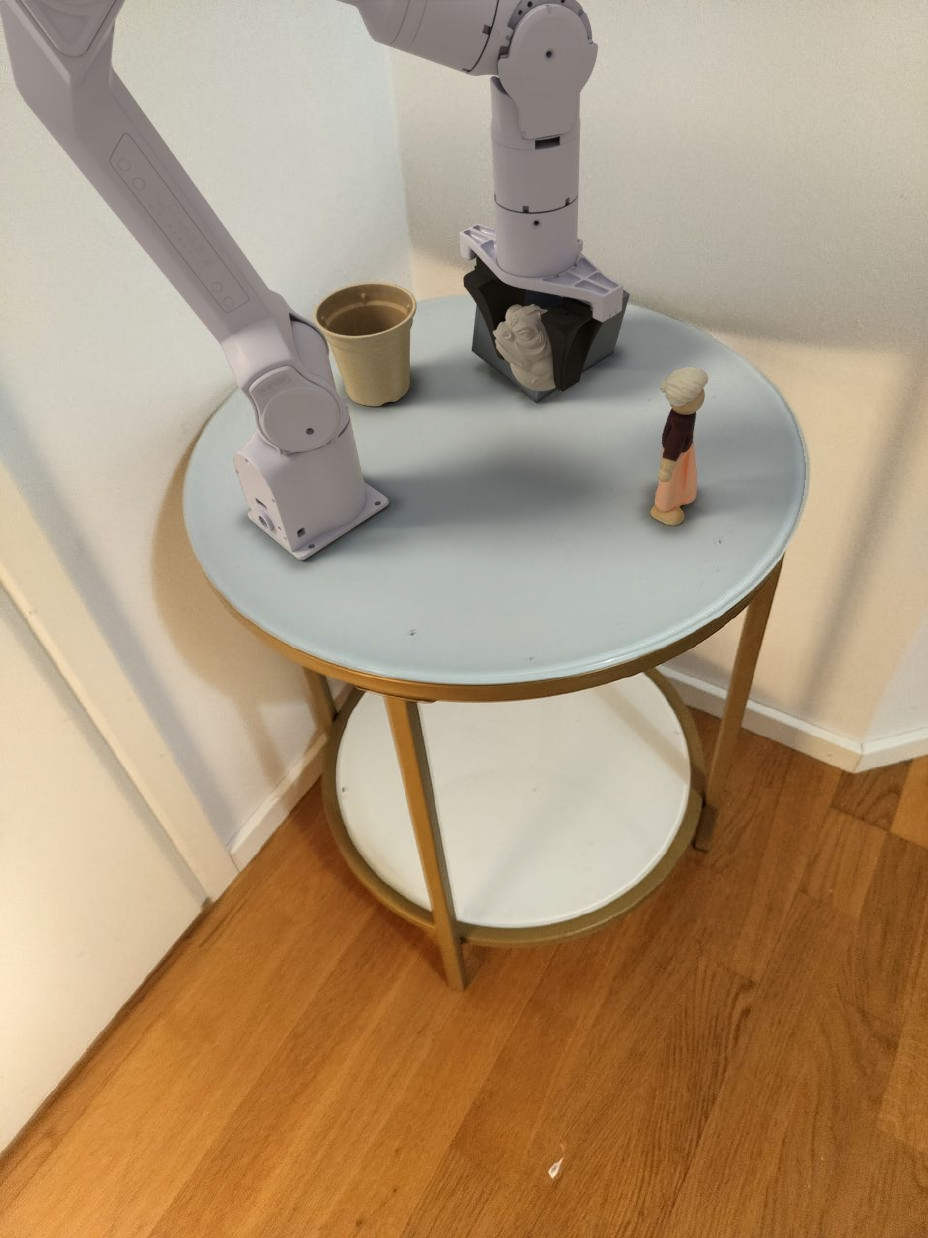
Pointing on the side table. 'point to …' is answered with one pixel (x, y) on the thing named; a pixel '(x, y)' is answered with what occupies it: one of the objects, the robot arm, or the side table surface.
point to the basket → (546, 301)
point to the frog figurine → (526, 347)
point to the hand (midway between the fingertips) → (538, 368)
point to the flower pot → (369, 339)
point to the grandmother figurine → (679, 444)
